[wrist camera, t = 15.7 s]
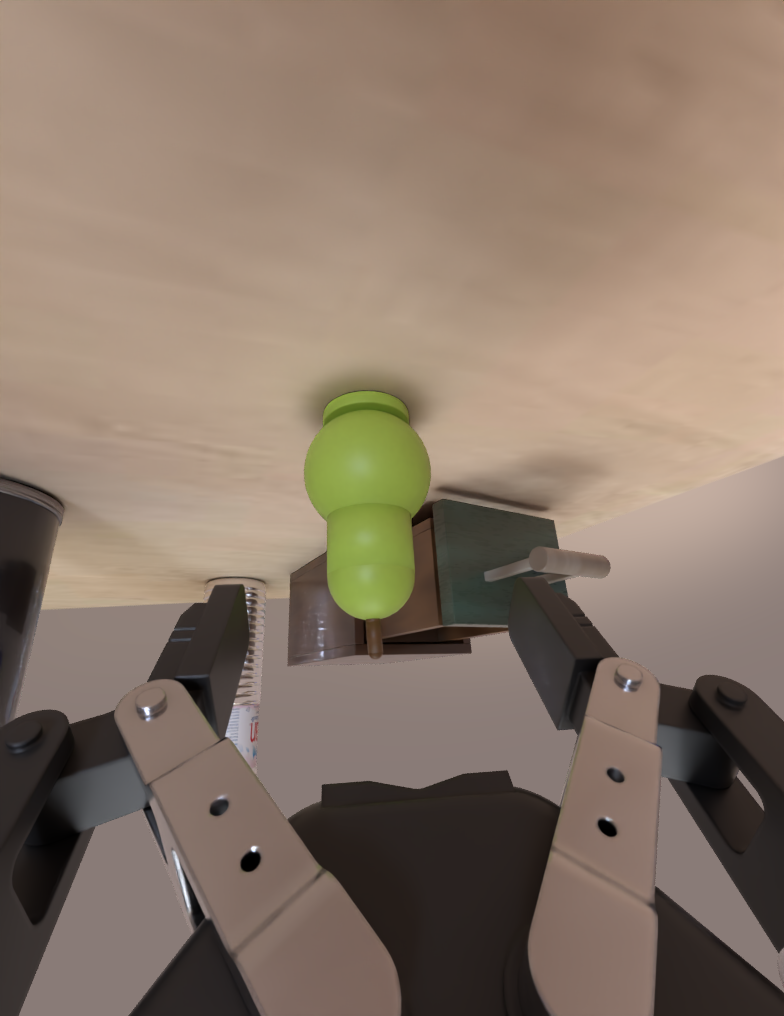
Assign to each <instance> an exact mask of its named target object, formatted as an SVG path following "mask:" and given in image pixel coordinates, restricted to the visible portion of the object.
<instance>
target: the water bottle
mask: <svg viewBox="0 0 784 1016" xmlns="http://www.w3.org/2000/svg"><path fill="white" fill-rule="evenodd" d="M223 584H243V585H244V588H245V595H246V604H247V613H248V622H249V646H248V651H247V655H246V659H245V663H244V667H243V670H242V674H241V678H240V682H239V686H238V689H237V693H236V697H235V701H234V705H233V708H232V712H231V716H230V720H229V724H228V727H227V731H226V735H225V737H228V738H229V739H231V741H232V742H233V743H234V744H235V746H236V747H237V749H238V750H239V751H240V753H241V754H242V756H243V757H244V759H245V760H246V761H247V763H248V764H249V766H250V767H251V769H252V770H253V771H254V773H255V774H256V775H257V768H256V756H257V738H258V736H257V735H258V720H259V702H260V700H261V694H260V692H261V681H262V676H261V674H262V667H261V666H262V663H263V660H262V657H263V650H262V649H263V640H264V634H263V633H264V623H265V618H264V616H265V604H266V603H265V600H266V595H265V594H266V588H265V584H264V583H263V582H261V581H259V580H255V579H249V578H220V579H215V580H211V581H210V582H208V583H207V585H206V588H205V594H204V602H203V603H207V601H208V599H209V597H210V595H211V592H212V590H213V588H214V586H215V585H223Z"/></svg>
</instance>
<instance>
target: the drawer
mask: <svg viewBox="0 0 784 1016" xmlns="http://www.w3.org/2000/svg"><path fill="white" fill-rule="evenodd" d="M432 507H433V518H429V519H427V520H425V521H423V522H421V523H419V524H417V525H416V526H414V527H412V535H413V549H414V564H415V583H414V587H413V591H412V593H411V595H410V597H409V599H408V600H407V602H406V603H405V604H404V606H403V607H401V608H400V609H399V610H398V611H397V612H396V613H394V614H392V615H391V616H389V617H386V618H383V619H380V620H381V631H382V643H443V642H449V641H456V640H462V639H468V638H475V637H480V636H487V635H493V634H500V633H506V632H509V631H508V617H509V611H510V605H511V600H512V594H513V588H514V583H515V580H516V579H517V578H518V577H543V578H545V580H546V581H547V582H548V583H549V585H550V586H551V587H552V589H553V590H554V591H555V593H562V594H564V595H565V596H567V597H568V594H567V589H566V583H565V580H567V579H571V578H575V577H579V576H581V577H591V578H604V577H606V576H607V575H608V574H609V572H610V562H609V561H608V560H607V558H606V557H604V556H601V555H594V554H588V553H581V552H575V551H568V550H561V549H559V546H558V540H557V535H556V530H555V524H554V520H549V519H544V518H539V517H534V516H529V515H524V514H518V513H513V512H508V511H503V510H498V509H493V508H487V507H482V506H477V505H472V504H467V503H462V502H456V501H451V500H446V499H442V500H440V501H438V502H437V503H435V504H433V505H432ZM364 643H367V634H366V622H365V620H364Z"/></svg>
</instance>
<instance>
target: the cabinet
mask: <svg viewBox="0 0 784 1016" xmlns="http://www.w3.org/2000/svg"><path fill="white" fill-rule="evenodd" d="M462 654H471V644H470V638H468V639H462V640H456V641H449V642H443V643H383V655H382V656H381V658H379V659H376V660H375V659H372V658H370V656H369V655H368V646H367V643H364V620H363V619H359V618H355V617H353V616H351V615H349V614H348V613H346V612H345V611H344V610H342V609H341V608H340V607H339V606H338V604H337V603H336V602H335V601H334V599H333V597H332V595H331V593H330V590H329V587H328V580H327V552H326V553H324V554H323V555H321V556H320V557H318V558H316V559H315V560H313V561H312V562H310V563H309V564H307V565H305V566H304V567H302V568H301V569H299V570H297V571H296V572H294V573H293V574H291V575H290V605H289V636H288V666H320V665H352V664H353V665H354V664H385V663H394V662H401V661H411V660H419V659H428V658H436V657H445V656H454V655H462Z"/></svg>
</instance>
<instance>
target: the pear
mask: <svg viewBox="0 0 784 1016" xmlns="http://www.w3.org/2000/svg"><path fill="white" fill-rule="evenodd" d="M304 479H305V486H306V490H307V493H308V495H309V498H310V500H311V502H312V504H313V506H314V507H315V509H316V510H317V512H318V513H319V514H320V515H321V516H322V517H323V518H324V519H325V520H326V521H327V580H328V587H329V590H330V593H331V595H332V597H333V599H334V601H335V602H336V603H337V604H338V606H339V607H340V608H341V609H342V610H344V611H345V612H346V613H348V614H349V615H351V616H353V617H355V618H359V619H363V620H365V622H366V634H367V646H368V655H369V656H370V658H372V659H375V660H376V659H379V658H381V656H382V655H383V643H382V631H381V620H380V619H383V618H386V617H389V616H391V615H392V614H394V613H396V612H397V611H398V610H399V609H400V608H401V607H403V606H404V604H405V603H406V602H407V600H408V599H409V597H410V595H411V593H412V591H413V587H414V583H415V564H414V549H413V535H412V520H411V519H412V518H413V517H414V515H415V514H416V513H417V512H418V511H419V509H420V507H421V506H422V504H423V503H424V501H425V498H426V496H427V493H428V489H429V486H430V479H431V469H430V461H429V457H428V454H427V451H426V448H425V446H424V444H423V442H422V440H421V439H420V437H419V436H418V434H417V433H416V432H415V431H414V430H413V429H412V428H411V427H410V426H409V414H408V410H407V408H406V406H405V405H404V403H403V402H402V401H400V400H399V399H397V398H396V397H394V396H391V395H389V394H386V393H381V392H375V391H358V392H352V393H348V394H344V395H342V396H339V397H337V398H335V399H334V400H332V401H331V402H330V403H329V404H328V405H327V406H326V408H325V410H324V412H323V428H322V429H321V430H320V432H319V433H318V434H317V435H316V436H315V438H314V440H313V441H312V443H311V445H310V447H309V450H308V452H307V456H306V460H305V466H304Z"/></svg>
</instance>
